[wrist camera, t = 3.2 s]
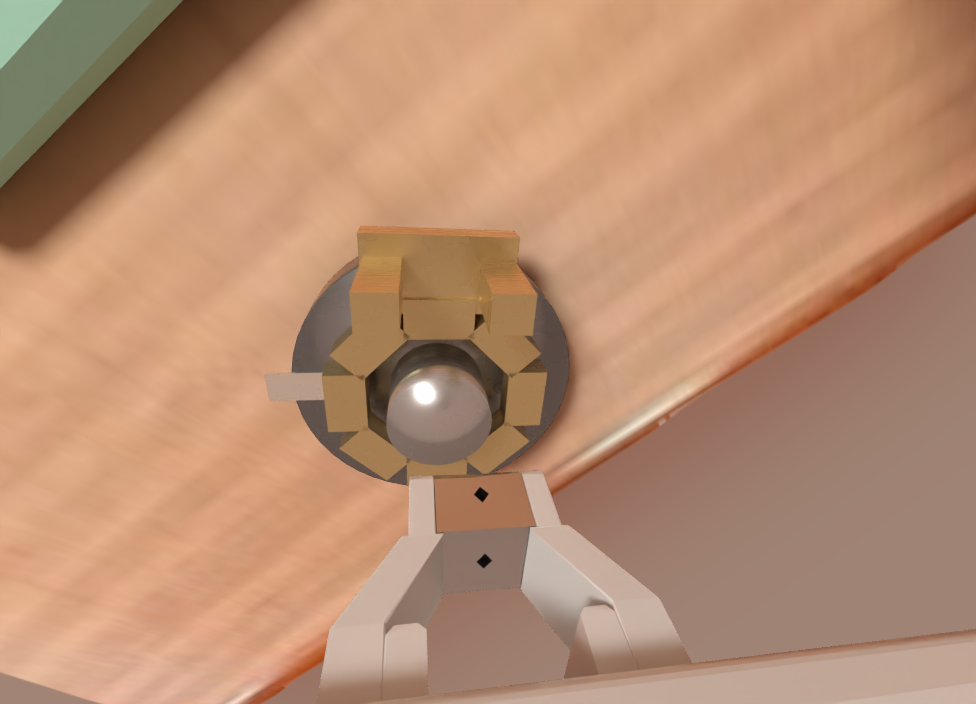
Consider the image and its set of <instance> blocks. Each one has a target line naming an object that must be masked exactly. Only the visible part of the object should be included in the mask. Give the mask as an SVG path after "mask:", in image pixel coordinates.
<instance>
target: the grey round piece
mask: <svg viewBox="0 0 976 704" xmlns="http://www.w3.org/2000/svg"><path fill="white" fill-rule="evenodd" d="M358 267H359V256H358V257H357V258H355V259H354V260H352V261H351V262H349V263H348V264H347V265H345V266H344V267H343V268H342V269H341V270H340V271H338V272H337V273H336V274H335V275H334V276H333V277H332V278H331V280H330V281H329V282H328V283H327V284H326V285H325V286H324V288H323V289H322V291H321V292H320V294H319V296H318V297H317V299H316V300H315V302H314V304H313V306H312V307H311V309H310V311H309V313H308V315H307V317H306V319H305V320H304V323H303V325H302V327H301V330H300V332H299V334H298V337H297V340H296V344H295V348H294V352H293V361H292V373H265V379H266V385H267V390H268V395H269V401H297V404H298V407H299V409H300V411H301V414H302V416H303V418H304V420H305V422H306V423H307V425H308V427H309V428H310V430H311V431H312V433H313V434H314V435H315V436H316V438H317V439H318V440H319V441H320V443H321V444H322V445H324V446H325V447H326V448H327V449H328V450H329V451H330V452H331V453H332V454H333V455H335V456H336V457H337V458H339V459H340V460H341V461H343V462H344V463H346V464H347V465H349V466H351V467H353V468H354V469H356V470H358V471H360V472H362V473H365V474H367V475H369V476H372V477H374V478H377V479H381V480H384V481H387V482H392V483H397V484H402V485H407V465H405V466H404V467H403V468H402V469H400V470H399V471H398V472H397V473H396V474H394V475H393V476H392V477H391V478H390V479H388V480H385V479H384V478H382V477H381V476H379V475H378V474H376V473H375V472H373V471H372V470H370V469H369V468H367V467H366V466H364V465H363V464H361V463H360V462H358V461H357V460H355V459H354V458H352V457H351V456H349V455H348V454H346V453H345V452H343V451H342V450H340V449H339V448H340V444H341V439H342V435H343V432H328V426H327V418H326V410H325V401H324V393H323V385H322V377H321V376H322V373H323V370H324V368H325V365H326V362H327V361H336V360H334V359H333V358H332V357H330V356H329V355H330V352H331V349H332V346H333V343H334V341H335V340H336V339H337V338H338V337H339V336H340V335H342V334H343V333H344V332H345V331H346V330H347V329H348V328H349V327H350V326H351V325H352V321H351V309H350V296H349V292H350V289H351V286H352V283H353V281H354V278H355V275H356V273H357V270H358ZM519 268H520V267H519ZM520 269H521V268H520ZM521 271H522V272H523V274H524V275H525V277H526V278H527V280H528V281H529V283H530V284H531V286H532V287H533V289H534V290H535V292H536V293H537V294H538V295H537V303H536V312H535V320H534V328H533V336H530V337H531V338H532V339H533V340H534V341H535V343H536V345H537V347H538V348H539V350H540V352H541V354H540V355H539V356H538V357H537V358H535V359H541V361H542V363H543V365H544V367H545V369H546V371H547V378H546V385H545V392H544V399H543V406H542V413H541V420H540V425H526V426H524V427H525V429H526V432H527V435H528V438H529V442H528V443H527V444H526V445H524V446H523V447H522V448H520V449H519V450H518V451H517V452H515V453H514V454H513V455H511V456H510V457H509V458H507V459H506V460H505V461H504V462H502V463H501V464H500V465H498V466H497V467H496V468H495V469H493V470H492V471H491V472H489V473H492V472H494V471H497V470H498V469H500V468H502V467H504V466H506V465H508V464H509V463H511V462H512V461H514V460H515V459H517V458H518V457H520V456H521V455H522V454H523V453H525V452H526V451H527V450H528V449H529V448H530V447H532V446H533V445H534V444H535V443H536V441H537V440H538V439H539V438H540V437H541V436H542V435H543V434H544V432H545V431H546V430H547V428H548V427H549V426H550V424H551V423H552V421H553V419H554V417H555V416H556V414H557V412H558V410H559V408H560V405H561V403H562V400H563V398H564V395H565V391H566V387H567V383H568V374H569V352H568V347H567V342H566V337H565V334H564V331H563V328H562V326H561V323H560V321H559V319H558V317H557V315H556V313H555V312H554V310H553V308H552V306H551V305H550V303H549V302H548V301H547V299H546V298H545V296H544V295H543V294H542V292H541V291H540V289H539V288H538V287H537V285H536V284H535V283H534V282H533V280H532V279H531V278H530V277H529V276H528V275H527V274H526V273H525V272H524V271H523V270H522V269H521ZM475 315H476V314H475ZM401 316H402V317H403V314H401ZM368 378H369V393H370V408H371V412H372V413H374V414H375V415H376V416H378V417H379V418H380V419H382V420H383V421H384V422H386V423H387V424H386V427H387V433H388V437H389V439H390V441H391V443H392V444H393V446H394V447H395V448H396V449H397V450H398V451H399V452H400V453H401V454H402V455H404V456H405V457H407V458H408V459H410V460H413V461H415V462H418V463H422V464H427V465H446V464H451V463H455V462H458V461H460V460H463V459H465V458H467V457H469V456H470V455H472V454H473V453H474V452H476V451H477V450H478V449H479V448H480V447H481V446H482V445H483V443H484V442H485V440H486V439H487V437H488V435H489V432H490V429H491V424H492V416H491V415H492V414H493V413H494V412H495V411H496V410H498V409H499V408H500V400H501V389H502V378H503V370H502V369H501V368H500V367H499V366H498V365H497V364H496V363H495V362H493V361H492V360H491V359H490V358H489V357H488V356H487V355H486V354H485V353H484V352H483V351H482V350H481V349H480V348H479V347H478V346H477V345H475V344H474V343H473V342H472V341H471V340H470V339H445V340H407V341H406V342H405V343H403V344H402V345H401V346H400V347H399V348H398V349H397V350H396V351H395V352H393V353H392V354H391V355H390V356H389V357H388V358H387V359H386V360H385V361H384V362H382V363H381V364H380V365H379V366H378V367H377V368H376V369H375V370H374V371H373V372H371V373H370V374H369V375H368ZM466 474H483V473H481V472H480V471H479V470H477V469H476V468H475V467H474V466H472V465H471V464H470V463H468V462H467V473H466Z"/></svg>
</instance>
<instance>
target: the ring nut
mask: <svg viewBox="0 0 976 704" xmlns="http://www.w3.org/2000/svg"><path fill="white" fill-rule="evenodd" d="M357 240H358V255H359V267H358V270H357V273H356V275H355V278H354V281H353V283H352V286H351V289H350V292H349V296H350V309H351V321H352V325H351V326H350V327H349V328H348V329H347V330H346V331H345V332H344V333H343V334H342V335H340V336H339V337H338V338H337V339H336V340H335V341H334V343H333V346H332V349H331V352H330V355H329V356H330V357H332V358H333V359H334V360H336V361H327V362H326V365H325V368H324V370H323V373H322V376H321V377H322V385H323V393H324V401H325V410H326V418H327V426H328V432H343V435H342V439H341V444H340V448H339V449H340V450H342V451H343V452H345V453H346V454H348V455H349V456H351V457H352V458H354V459H355V460H357V461H358V462H360V463H361V464H363V465H364V466H366V467H367V468H369V469H370V470H372V471H373V472H375V473H376V474H378V475H379V476H381V477H382V478H384V479H385V480H388V479H390V478H391V477H392V476H393V475H394V474H396V473H397V472H398V471H399V470H400V469H402V468H403V467H404V466H405V465H407V486H409V481H410V476H434V475H465V474H466V473H467V462H468V463H470V464H471V465H472V466H474V467H475V468H476V469H477V470H479V471H480V472H481V473H483V474H487V473H489V472H491V471H492V470H493V469H495V468H496V467H497V466H498V465H500V464H501V463H502V462H504V461H505V460H506V459H507V458H509V457H510V456H511V455H513V454H514V453H515V452H517V451H518V450H519V449H520V448H522V447H523V446H524V445H526V444H527V443H528V442H529V438H528V435H527V432H526V429H525V427H524V426H526V425H540V420H541V413H542V406H543V399H544V392H545V385H546V378H547V371H546V369H545V367H544V365H543V363H542V361H541V359H535V358H537V357H538V356H539V355H540V354H541V352H540V350H539V348H538V347H537V345H536V343H535V341H534V340H533V339H532V338H531V337H530V336H533V328H534V320H535V312H536V303H537V295H538V294H537V293H536V292H535V290H534V289H533V287H532V286H531V284H530V283H529V281H528V280H527V278H526V277H525V275H524V274H523V272H522V271H521V269H520V268H519V266H518V265H517V262H518V252H519V241H520V237H519V236H518V235H517V234H516V233H515V231H498V230H468V229H438V228H408V227H378V226H360V228H359V230H358V232H357ZM401 314H403V317H402V316H401ZM475 314H476V315H475ZM445 339H470V340H471V341H472V342H473V343H474V344H475V345H477V346H478V347H479V348H480V349H481V350H482V351H483V352H484V353H485V354H486V355H487V356H488V357H489V358H490V359H491V360H492V361H493V362H495V363H496V364H497V365H498V366H499V367H500V368H501V369H502V370H503V378H502V389H501V400H500V408H499V409H498V410H496V411H495V412H494V413H493V414H492V415H491V416H492V424H491V429H490V432H489V435H488V437H487V439H486V440H485V442H484V443H483V445H482V446H481V447H480V448H479V449H478V450H477V451H476V452H474V453H473V454H472V455H470V456H469V457H467V458H465V459H463V460H460V461H458V462H455V463H451V464H446V465H427V464H422V463H418V462H415V461H413V460H410V459H408V458H407V457H405V456H404V455H402V454H401V453H400V452H399V451H398V450H397V449H396V448H395V447H394V446H393V444H392V443H391V441H390V439H389V437H388V433H387V427H386V424H387V423H386V422H384V421H383V420H382V419H380V418H379V417H378V416H376V415H375V414H374V413H372V412H371V408H370V393H369V378H368V375H369V374H370V373H371V372H373V371H374V370H375V369H376V368H377V367H378V366H379V365H380V364H381V363H382V362H384V361H385V360H386V359H387V358H388V357H389V356H390V355H391V354H392V353H393V352H395V351H396V350H397V349H398V348H399V347H400V346H401V345H402V344H403V343H405V342H406V341H407V340H445Z"/></svg>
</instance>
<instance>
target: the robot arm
mask: <svg viewBox="0 0 976 704" xmlns="http://www.w3.org/2000/svg"><path fill="white" fill-rule="evenodd" d="M511 588H521V591H522V592H523V593H524V595H525V596H526V597H527V598H528V599H529V601H530V602H531V603H532V604H533V606H534V607H535V608H536V609H537V610H538V612H539V613H540V614H541V615H542V617H543V618H544V619H545V620H546V621H547V623H548V624H549V625H550V626H551V627H552V629H553V630H554V631H555V632H556V634H557V635H558V636H559V637H560V638H561V640H562V641H563V642H564V644H565V645H566V646H567V647H568V648H569V650H570V651H571V652H570V656H569V659H568V664H567V667H566V671H565V675H564V679H559V680H551V681H542V682H534V683H526V684H518V685H510V686H501V687H493V688H485V689H477V690H468V691H461V692H452V693H444V694H436V695H428V667H427V632H426V628H427V626H428V625H429V623H430V620H431V618H432V617H433V614H434V613H435V611H436V609H437V607H438V605H439V603H440V601H441V599H442V595H444V594H453V593H462V592H470V591H479V590H494V589H511ZM317 704H976V629H970V630H962V631H954V632H945V633H938V634H929V635H921V636H913V637H905V638H896V639H888V640H879V641H872V642H863V643H855V644H847V645H839V646H830V647H822V648H813V649H805V650H798V651H789V652H782V653H773V654H764V655H757V656H748V657H739V658H731V659H723V660H715V661H706V662H699V663H692V662H691V660H690V658H689V656H688V654H687V652H686V650H685V648H684V646H683V644H682V642H681V640H680V638H679V636H678V634H677V632H676V630H675V628H674V626H673V624H672V622H671V620H670V618H669V616H668V614H667V612H666V610H665V608H664V606H663V604H662V602H661V600H660V598H658V597H657V596H656V595H655V594H654V593H652V592H651V591H650V590H649V589H647V588H646V587H645V586H644V585H643V584H641V583H640V582H639V581H637V580H636V579H635V578H634V577H633V576H631V575H630V574H628V572H626V571H625V570H624V569H623V568H622V567H620V566H619V565H618V564H616V563H615V562H614V561H613V560H612V559H610V558H609V557H608V556H607V555H605V554H604V553H603V552H602V551H600V550H599V549H598V548H597V547H595V546H594V545H593V544H592V543H591V542H589V541H588V540H587V539H586V538H584V537H583V536H582V535H581V534H579V533H578V532H577V531H576V530H574V529H573V528H572V527H571V526H570V525H562V523H561V520H560V517H559V515H558V512H557V509H556V506H555V503H554V501H553V498H552V495H551V492H550V490H549V487H548V484H547V481H546V479H545V476H544V473H543V472H542V471H541V470H534V471H520V472H505V473H487V474H465V475H434V476H410V481H409V536H401V537H400V539H399V540H398V541H397V543H396V544H395V545H394V547H393V548H392V549H391V550H390V552H389V553H388V554H387V556H386V557H385V558H384V559H383V561H382V562H381V563H380V565H379V566H378V567H377V568H376V570H375V571H374V572H373V574H372V575H371V576H370V577H369V579H368V580H367V581H366V583H365V584H364V585H363V587H362V588H361V589H360V590H359V592H358V593H357V594H356V596H355V597H354V598H353V599H352V601H351V602H350V603H349V605H348V606H347V607H346V608H345V610H344V611H343V612H342V614H341V615H340V616H339V617H338V619H337V620H336V621H335V623H334V624H333V625H332V627H331V628H330V630H329V636H328V641H327V647H326V653H325V659H324V664H323V670H322V676H321V682H320V688H319V693H318V699H317Z"/></svg>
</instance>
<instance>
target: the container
mask: <svg viewBox="0 0 976 704" xmlns="http://www.w3.org/2000/svg"><path fill="white" fill-rule="evenodd" d="M182 1H183V0H0V188H1V187H2V186H3V185H4V184H5V183H6V182H7V181H8V180H9V179H10V178H11V177H12V176H13V175H14V173H15V172H16V171H17V170H18V169H19V168H20V167H21V166H22V165H23V164H24V163H25V162H26V161H27V160H28V159H29V158H30V157H31V156H32V155H33V154H34V153H35V152H36V151H37V150H38V149H39V148H40V147H41V146H42V145H43V144H44V143H45V142H46V141H47V140H48V139H49V138H50V137H51V135H52V134H53V133H54V132H55V131H56V130H57V129H58V128H59V127H60V126H61V125H62V124H63V123H64V122H65V121H66V120H67V119H68V118H69V117H70V116H71V115H72V114H73V113H74V112H75V111H76V110H77V109H78V108H79V107H80V106H81V105H82V104H83V103H84V102H85V101H86V100H87V99H88V97H89V96H90V95H91V94H92V93H93V92H94V91H95V90H96V89H97V88H98V87H99V86H100V85H101V84H102V83H103V82H104V81H105V80H106V79H107V78H108V77H109V76H110V75H111V74H112V73H113V72H114V71H115V70H116V69H117V68H118V67H119V66H120V65H121V64H122V63H123V62H124V61H125V59H126V58H127V57H128V56H129V55H130V54H131V53H132V52H133V51H134V50H135V49H136V48H137V47H138V46H139V45H140V44H141V43H142V42H143V41H144V40H145V39H146V38H147V37H148V36H149V35H150V34H151V33H152V32H153V31H154V30H155V29H156V28H157V27H158V26H159V25H160V24H161V23H162V22H163V20H164V19H165V18H166V17H167V16H168V15H169V14H170V13H171V12H172V11H173V10H174V9H175V8H176V7H177V6H178V5H179V4H180V3H181V2H182Z"/></svg>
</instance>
